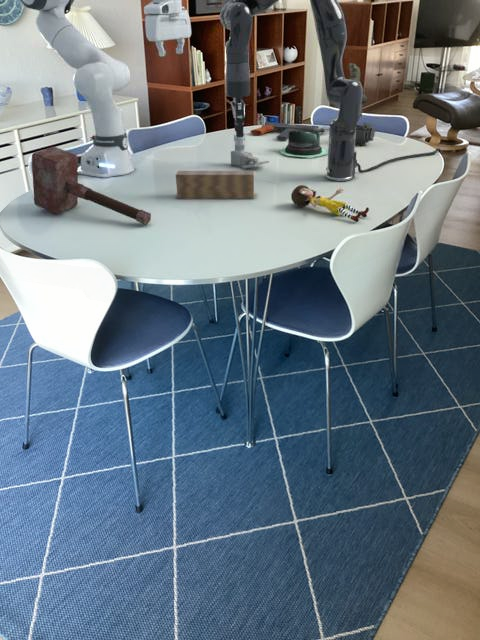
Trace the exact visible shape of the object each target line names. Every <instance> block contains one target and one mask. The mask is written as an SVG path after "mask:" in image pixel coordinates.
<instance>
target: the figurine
mask: <svg viewBox="0 0 480 640" xmlns="http://www.w3.org/2000/svg"><path fill="white" fill-rule="evenodd" d="M342 192H344V188H342V187H340V188H339V189H336V191H335V193H333V194H332V195H331V196H329V197H324V196H321V195H318V196H316V195H317V193H318V192H317V191H316V190H314V189H310V188H309V187H308V186H307V185H304V184H300V185H298V186H296V187H295V188H294V189H293V190H292V192H291V195H290V198H291V201H292V203H293V204H294V206H297V207H306V206H309V205H312V207H313V208H316V207H317V206H318V207H321V208H322V207H323V208H326V209H327V210H328V211H330V212H332V213H333V214H335V215H337V216H340V214H341V215H342V216H344V217H345V218H348V219H350V220H352V221H353V222H356V223H358V222H359V221H360V219H359V218H360V217H362V218H367V214H368V212H369V211H370V207H366V208H365V210H358V209H356V208H354V207H353V206H351V205H349V204H347V202H344V201H338V200H332V199H333V198H335V197H336V196H337V195H340V194H341V193H342ZM346 210H348V211H349V212H350V213H353V215H351V214H350V213H348V212H347V211H346ZM354 214H356V215H354Z"/></svg>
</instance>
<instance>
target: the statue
mask: <svg viewBox="0 0 480 640" xmlns="http://www.w3.org/2000/svg"><path fill="white" fill-rule="evenodd" d="M348 70H349V73H350V75H349V76H350V78H349V80H354V81H357V82H359V83H360V85H361V87H362V103H361V110H360V117H362V116H363V108H364V104H365V103H367V102H368V96H367V95H366V94H365V91H364V86H363V84H362V82H361V68H360V67H359V66H358V65H357V64H356V63H351V62H350V63H348ZM357 125H359V124H358V123H357Z"/></svg>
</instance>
